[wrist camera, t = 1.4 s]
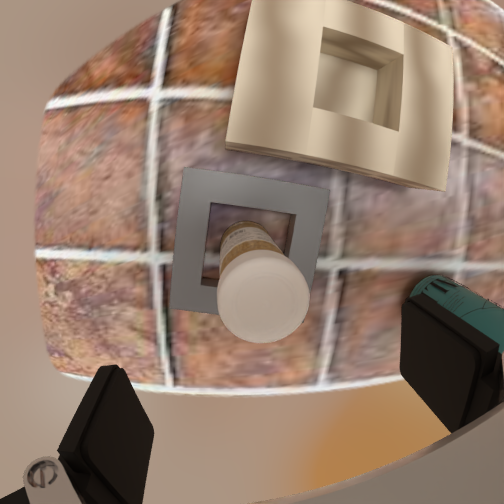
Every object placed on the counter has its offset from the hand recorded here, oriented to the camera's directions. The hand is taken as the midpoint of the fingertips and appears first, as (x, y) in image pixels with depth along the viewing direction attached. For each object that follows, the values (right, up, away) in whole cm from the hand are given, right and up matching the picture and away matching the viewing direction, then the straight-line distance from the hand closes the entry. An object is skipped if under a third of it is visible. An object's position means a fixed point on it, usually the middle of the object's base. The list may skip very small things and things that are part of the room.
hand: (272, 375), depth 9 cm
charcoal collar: (-1, +4, +18) cm, 19 cm away
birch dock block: (+7, +18, +16) cm, 25 cm away
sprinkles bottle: (-1, +5, +19) cm, 19 cm away
